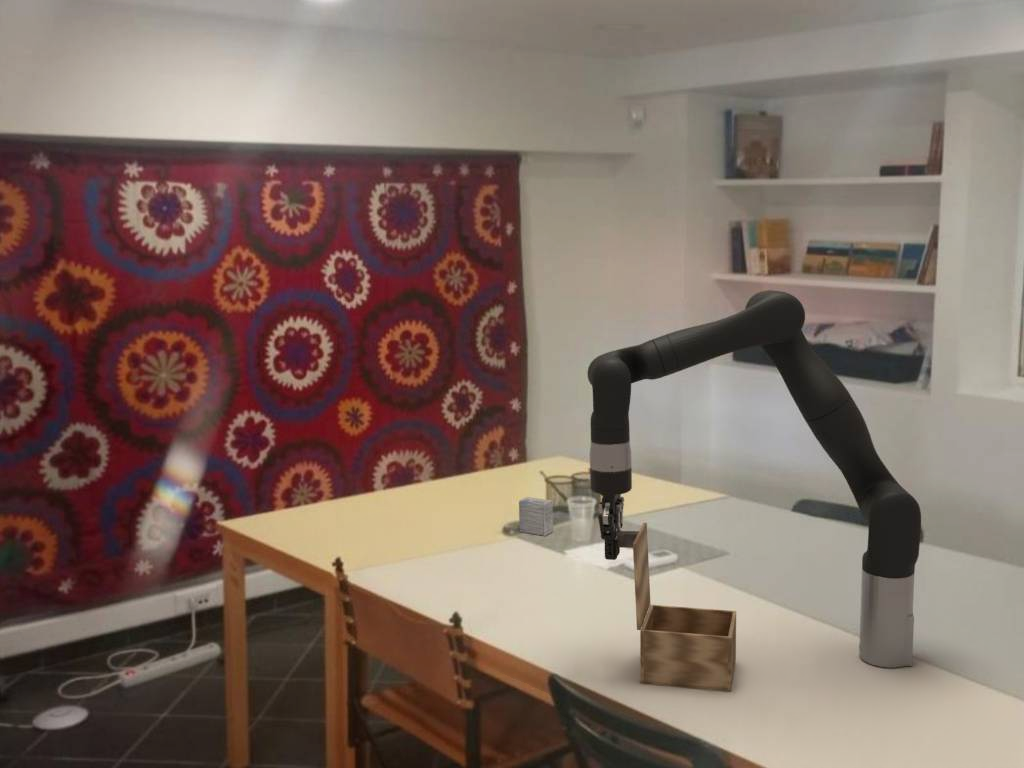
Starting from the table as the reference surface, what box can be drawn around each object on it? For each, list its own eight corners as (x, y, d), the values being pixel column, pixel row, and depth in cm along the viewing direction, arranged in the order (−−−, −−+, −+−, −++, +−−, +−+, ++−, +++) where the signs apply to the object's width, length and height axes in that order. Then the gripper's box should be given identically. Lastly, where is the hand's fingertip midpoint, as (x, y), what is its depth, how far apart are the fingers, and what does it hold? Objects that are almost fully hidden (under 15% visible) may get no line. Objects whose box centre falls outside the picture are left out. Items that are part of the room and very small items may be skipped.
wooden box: (735, 661, 207) (736, 611, 206) (730, 691, 195) (731, 638, 193) (650, 654, 211) (650, 604, 210) (640, 683, 199) (640, 630, 197)
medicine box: (553, 532, 290) (553, 500, 288) (544, 536, 286) (544, 504, 284) (527, 528, 294) (527, 496, 292) (519, 532, 290) (518, 500, 289)
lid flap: (646, 522, 207) (617, 522, 209) (636, 543, 195) (604, 543, 196) (650, 604, 210) (621, 603, 211) (640, 630, 197) (609, 628, 199)
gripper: (625, 475, 193) (626, 570, 196) (637, 456, 206) (638, 546, 209) (582, 473, 195) (585, 568, 198) (597, 455, 208) (599, 544, 211)
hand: (612, 556), depth 203 cm, fingers closed on lid flap, 2 cm apart
